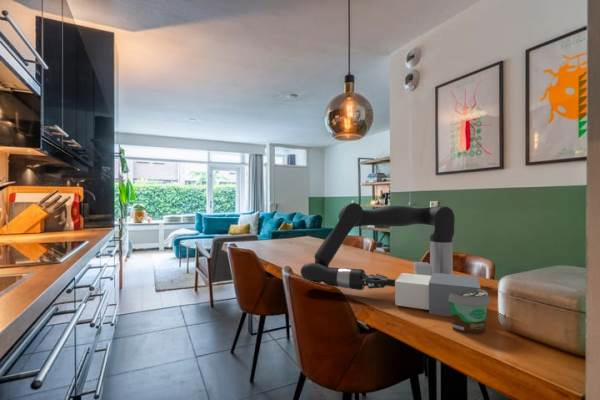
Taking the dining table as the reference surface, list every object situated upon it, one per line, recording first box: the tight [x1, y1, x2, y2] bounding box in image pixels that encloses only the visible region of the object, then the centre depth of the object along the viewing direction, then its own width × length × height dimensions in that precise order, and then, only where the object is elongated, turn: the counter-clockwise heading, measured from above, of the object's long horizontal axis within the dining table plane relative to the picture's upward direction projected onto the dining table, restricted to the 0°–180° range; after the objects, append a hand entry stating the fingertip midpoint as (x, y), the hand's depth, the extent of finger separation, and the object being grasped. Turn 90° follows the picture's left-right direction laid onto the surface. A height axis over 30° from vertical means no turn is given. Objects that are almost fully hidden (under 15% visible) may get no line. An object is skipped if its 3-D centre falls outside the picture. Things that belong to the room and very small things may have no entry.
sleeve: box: [428, 273, 482, 318], centre depth 100 cm, size 14×16×10 cm
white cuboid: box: [394, 272, 431, 311], centre depth 102 cm, size 25×14×8 cm, turn 63°
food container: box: [448, 289, 491, 335], centre depth 82 cm, size 12×6×10 cm, turn 114°
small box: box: [413, 261, 432, 276], centre depth 123 cm, size 8×6×10 cm
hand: (398, 283), depth 108 cm, fingers closed
